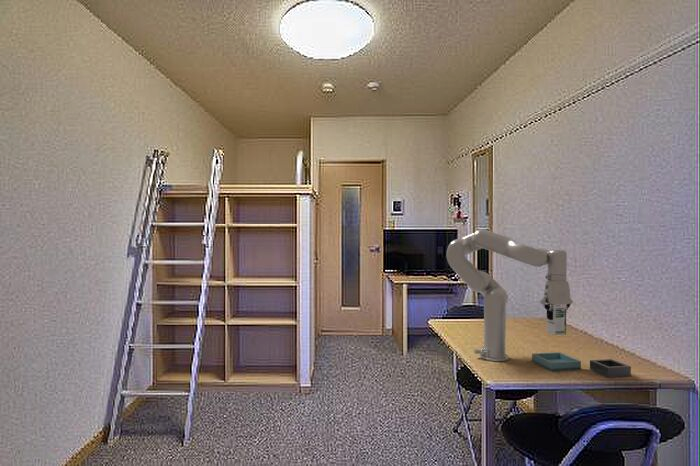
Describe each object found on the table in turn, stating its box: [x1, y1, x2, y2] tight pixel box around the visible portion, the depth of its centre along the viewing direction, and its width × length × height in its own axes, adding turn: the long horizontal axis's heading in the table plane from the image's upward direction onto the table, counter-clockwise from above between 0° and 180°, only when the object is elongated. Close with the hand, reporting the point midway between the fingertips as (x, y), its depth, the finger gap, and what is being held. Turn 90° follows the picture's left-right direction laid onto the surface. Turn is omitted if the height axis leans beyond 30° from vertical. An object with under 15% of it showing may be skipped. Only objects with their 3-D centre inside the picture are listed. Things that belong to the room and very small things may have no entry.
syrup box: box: [546, 304, 567, 336], centre depth 198 cm, size 6×6×14 cm
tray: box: [531, 351, 582, 372], centre depth 198 cm, size 14×14×4 cm
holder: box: [589, 358, 632, 379], centre depth 189 cm, size 10×10×4 cm
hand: (556, 318), depth 198 cm, fingers closed on syrup box, 5 cm apart
